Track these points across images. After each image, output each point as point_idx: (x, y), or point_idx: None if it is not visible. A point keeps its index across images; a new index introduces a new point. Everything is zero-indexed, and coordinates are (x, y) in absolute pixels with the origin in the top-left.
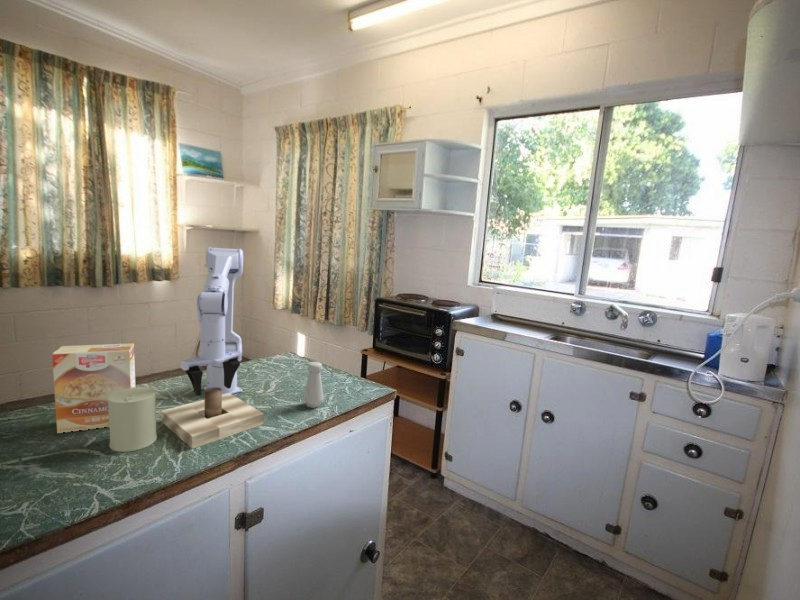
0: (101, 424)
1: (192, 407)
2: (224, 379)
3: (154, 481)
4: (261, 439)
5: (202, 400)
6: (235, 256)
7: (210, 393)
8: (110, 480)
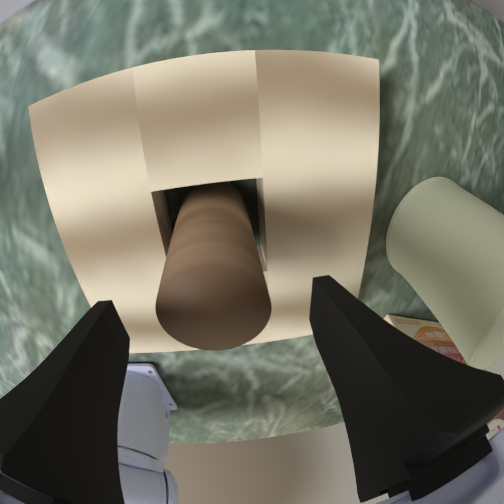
0: (426, 325)
1: None
2: (121, 378)
3: (456, 12)
4: None
5: None
6: None
7: (249, 274)
8: (498, 93)
